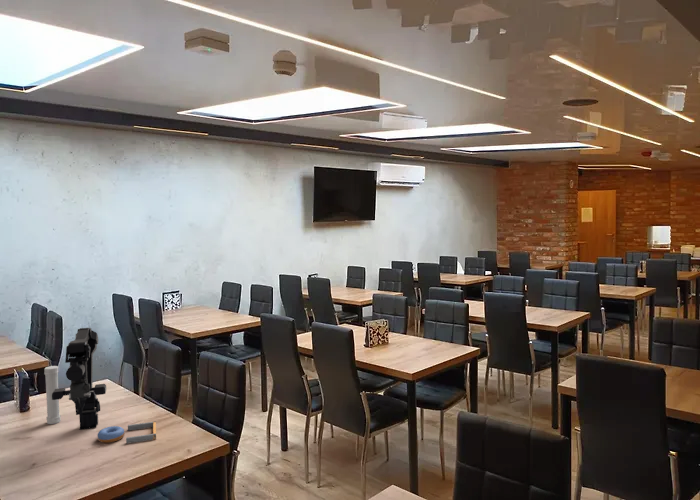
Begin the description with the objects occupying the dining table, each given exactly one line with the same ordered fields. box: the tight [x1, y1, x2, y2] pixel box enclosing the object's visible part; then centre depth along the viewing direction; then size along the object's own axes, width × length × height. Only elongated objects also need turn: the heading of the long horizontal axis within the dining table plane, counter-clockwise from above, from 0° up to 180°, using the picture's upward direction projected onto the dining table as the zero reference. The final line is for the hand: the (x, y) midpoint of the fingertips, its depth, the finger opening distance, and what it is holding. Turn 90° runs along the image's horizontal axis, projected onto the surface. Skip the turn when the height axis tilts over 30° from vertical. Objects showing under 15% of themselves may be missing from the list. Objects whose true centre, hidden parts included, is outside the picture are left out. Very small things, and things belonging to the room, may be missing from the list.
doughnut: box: [96, 425, 125, 443], centre depth 218 cm, size 10×10×5 cm
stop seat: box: [125, 421, 157, 444], centre depth 222 cm, size 11×15×2 cm
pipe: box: [43, 355, 62, 425], centre depth 236 cm, size 6×6×30 cm
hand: (80, 413), depth 214 cm, fingers closed
